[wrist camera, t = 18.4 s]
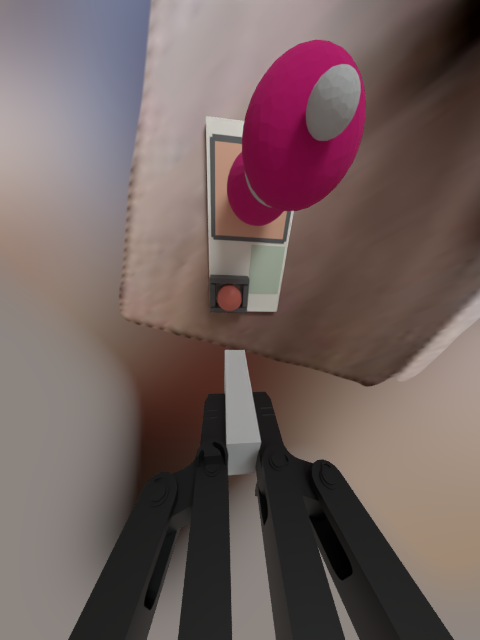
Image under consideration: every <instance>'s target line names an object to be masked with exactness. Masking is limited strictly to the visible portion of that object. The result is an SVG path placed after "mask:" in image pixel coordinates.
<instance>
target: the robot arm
mask: <svg viewBox="0 0 480 640" xmlns="http://www.w3.org/2000/svg"><path fill="white" fill-rule="evenodd" d="M224 372H225V373H224V390H225V391H224V394H209V395H208V397H207V399H206V401H205V405H204V416H203V424H202V434H201V444H200V447H199V449H198V451H197V454H196V459H195V460H194V461H193V462H192V463H191V464H190V465H189V466H187V467H186V468H184V469H182V470H180V471H178V472H175V473H173V474H171V473H169V472H161V473H159V474H156V475H154V476H153V477H152V478H151V479H150V480H149V481H148V482H147V484H146V485H145V486H144V488H143V490H142V492H141V494H140V496H139V498H138V500H137V502H136V504H135V506H134V508H133V510H132V512H131V514H130V516H129V518H128V520H127V522H126V524H125V526H124V528H123V530H122V532H121V534H120V536H119V538H118V540H117V542H116V544H115V547H114V548H113V550H112V552H111V554H110V556H109V558H108V560H107V563H106V564H105V566H104V569H103V570H102V572H101V575H100V577H99V579H98V581H97V583H96V585H95V587H94V589H93V591H92V593H91V595H90V597H89V599H88V601H87V603H86V605H85V607H84V609H83V611H82V613H81V615H80V617H79V619H78V621H77V623H76V625H75V627H74V629H73V631H72V633H71V635H70V637H69V639H68V640H147V636H148V633H149V630H150V626H151V623H152V619H153V616H154V613H155V610H156V607H157V603H158V600H159V597H160V593H161V590H162V587H163V583H164V580H165V576H166V573H167V570H168V567H169V563H170V560H171V557H172V554H173V550H174V547H175V544H176V540H177V537H178V534H179V530H180V528H182V527H183V526H185V525H187V524H188V523H190V522H191V524H190V533H189V543H188V551H187V561H186V570H185V579H184V588H183V598H182V607H181V616H180V626H179V635H178V640H232V617H231V576H230V537H229V535H230V533H229V491H228V475H235V474H247V473H255V470H256V473H257V484H256V489H255V496H258V503H259V511H260V519H261V526H262V532H263V541H264V550H265V557H266V565H267V573H268V581H269V588H270V596H271V603H272V612H273V620H274V627H275V634H276V640H345V637H344V634H343V631H342V627H341V624H340V621H339V617H338V614H337V610H336V607H335V604H334V600H333V597H332V594H331V590H330V587H329V583H328V580H327V577H326V573H325V570H324V567H323V563H322V560H321V557H320V553H321V555H322V557H323V559H324V562H325V564H326V566H327V568H328V570H329V573H330V575H331V577H332V579H333V582H334V584H335V586H336V588H337V590H338V593H339V595H340V597H341V599H342V602H343V604H344V606H345V608H346V610H347V613H348V615H349V617H350V619H351V621H352V624H353V626H354V628H355V630H356V633H357V635H358V637H359V639H360V640H454V639H453V637H452V636H451V635H450V633H449V632H448V630H447V629H446V627H445V626H444V624H443V623H442V622H441V620H440V618H439V617H438V615H437V614H436V612H435V611H434V610H433V608H432V607H431V605H430V604H429V602H428V601H427V599H426V598H425V596H424V595H423V594H422V592H421V591H420V589H419V587H418V586H417V584H416V583H415V582H414V580H413V579H412V577H411V576H410V574H409V573H408V571H407V570H406V568H405V567H404V565H403V564H402V562H401V561H400V560H399V558H398V557H397V555H396V554H395V552H394V551H393V549H392V548H391V546H390V545H389V543H388V542H387V541H386V539H385V537H384V536H383V534H382V533H381V532H380V530H379V529H378V527H377V526H376V524H375V523H374V521H373V520H372V518H371V517H370V515H369V514H368V512H367V511H366V509H365V508H364V507H363V505H362V503H361V502H360V501H359V499H358V498H357V496H356V495H355V493H354V492H353V490H352V489H351V487H350V486H349V484H348V483H347V481H346V480H345V478H344V477H343V476H342V474H341V473H340V471H339V470H338V469H337V468H336V467H335V466H334V465H333V464H331V463H330V462H329V461H326V460H317V461H316V462H314V463H310V462H307V461H304V460H301V459H298V458H296V457H294V456H293V455H291V454H290V453H289V452H288V451H287V449H286V448H285V446H284V444H283V441H282V438H281V434H280V431H279V427H278V424H277V420H276V416H275V413H274V410H273V406H272V402H271V399H270V397H269V396H268V395H267V394H266V392H252V389H251V384H250V378H249V373H248V367H247V362H246V356H245V350H225V368H224ZM317 546H318V547H317ZM318 548H319V550H320V553H319V550H318Z"/></svg>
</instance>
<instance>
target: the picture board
mask: <svg viewBox="0 0 480 640" xmlns="http://www.w3.org/2000/svg"><path fill="white" fill-rule="evenodd" d="M243 126H244V121H239V120H231V119H224V118H216V117H209V116H206V142H207V189H208V237H209V284H210V312H227V313H247V311H261V312H277V306H278V300H279V294H280V289H281V283H282V277H283V271H284V265H285V259H286V253H287V248H288V242H289V236H290V230H291V224H292V218H293V212H294V211H284V212H283V213H282V214H281V215H280V216H279V217H278V218H277V219H275V220H274V221H272V222H271V223H269V224H266V225H263V226H252V225H249V224H246V223H245V222H243V221H241V220H240V219H239V218H238V217H237V216H236V215H235V213H234V212H233V210H232V208H231V206H230V203H229V201H228V196H227V180H228V175H229V172H230V169H231V167H232V164H233V162H234V161H235V159H236V158H237V156H238V155H239V154H240V153H241V152H242V134H243ZM225 284H233V285H235V286H237V287H238V289H239V291H240V294H241V298H242V301H241V304H240V306H239V307H238V308H237V309H236V310H233V311H226V310H223V309H222V308H221V307H220V306H219V304H218V301H217V299H218V291H219V289H220V288H221V287H222V286H223V285H225Z"/></svg>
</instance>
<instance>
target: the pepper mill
mask: <svg viewBox="0 0 480 640" xmlns="http://www.w3.org/2000/svg"><path fill="white" fill-rule="evenodd" d="M365 110H366V100H365V90H364V85H363V81H362V78H361V74H360V71H359V69H358V68H357V66H356V64H355V62H354V61H353V59H352V57H351V56H350V55H349V54H348V53H347V52H346V51H345V50H344V49H343V48H342V47H340V46H338V45H336V44H334V43H332V42H330V41H323V40H313V41H309V42H305V43H301V44H298V45H296V46H295V47H293V48H291V49H290V50H288V51H286V52H285V53H284V54H283V55H282V56H281V57H279V58H278V59H277V60H276V61H275V62H274V63H273V64H272V66H271V67H270V68H269V70H268V71H267V72H266V73H265V75H264V76H263V78H262V79H261V81H260V82H259V84H258V85H257V87H256V90H255V92H254V94H253V96H252V98H251V101H250V104H249V107H248V110H247V113H246V116H245V121H244V126H243V134H242V152H241V153H240V154H239V155H238V156H237V158H236V159H235V161H234V162H233V164H232V167H231V169H230V172H229V175H228V180H227V196H228V201H229V203H230V206H231V208H232V210H233V212H234V213H235V215H236V216H237V217H238V218H239V219H240V220H241V221H243V222H245V223H246V224H249V225H252V226H263V225H266V224H269V223H271V222H272V221H274V220H275V219H277V218H278V217H279V216H280V215H281V214H282V213H283V212H284V211H298V210H301V209H305V208H308V207H310V206H311V205H313V204H315V203H317V202H319V201H320V200H322V199H323V198H324V197H325V196H327V195H328V194H329V193H330V192H331V191H332V190H333V189H334V188H335V187H336V186H337V185H338V184H339V182H340V181H341V180H342V178H343V177H344V176H345V174H346V172H347V171H348V169H349V167H350V166H351V164H352V163H353V160H354V158H355V156H356V153H357V151H358V148H359V145H360V142H361V138H362V134H363V129H364V123H365Z"/></svg>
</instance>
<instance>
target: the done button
mask: <svg viewBox="0 0 480 640" xmlns="http://www.w3.org/2000/svg"><path fill="white" fill-rule="evenodd" d="M217 301H218V304H219V306H220V307H221V308H222V309H223V310H226V311H233V310H236V309H237V308H238V307H239V306H240V304H241V301H242V298H241V294H240V291H239V289H238V287H237V286H235V285H233V284H225V285H223V286H222V287H221V288H220V289H219V291H218V299H217Z"/></svg>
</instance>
